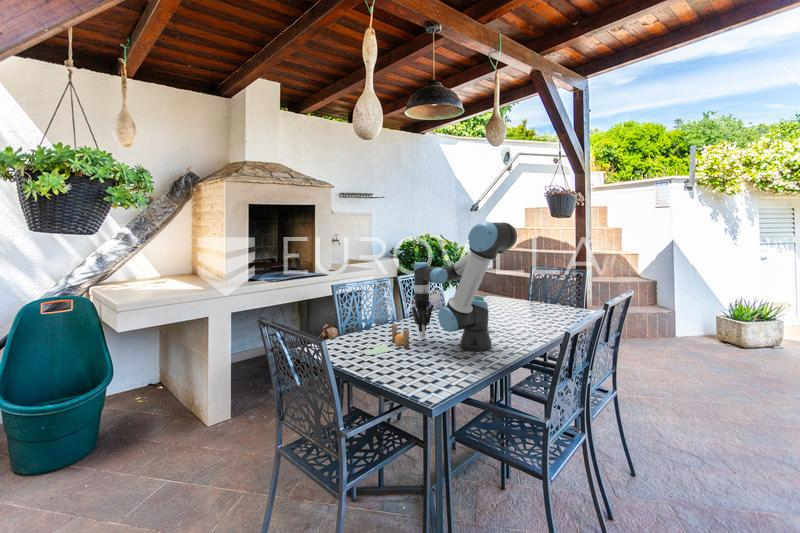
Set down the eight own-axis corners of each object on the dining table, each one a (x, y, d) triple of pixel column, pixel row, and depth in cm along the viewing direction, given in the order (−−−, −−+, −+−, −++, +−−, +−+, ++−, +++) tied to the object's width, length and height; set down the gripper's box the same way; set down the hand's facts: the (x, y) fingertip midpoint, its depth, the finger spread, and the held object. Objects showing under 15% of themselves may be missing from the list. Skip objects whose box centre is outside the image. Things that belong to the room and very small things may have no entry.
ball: (403, 348, 190) (409, 339, 191) (396, 341, 187) (403, 332, 189) (397, 345, 194) (403, 337, 196) (390, 339, 192) (397, 330, 194)
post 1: (398, 341, 197) (397, 324, 196) (393, 342, 196) (393, 325, 195) (395, 340, 199) (395, 323, 198) (391, 341, 198) (391, 324, 197)
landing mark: (394, 350, 182) (394, 350, 182) (367, 355, 176) (367, 355, 176) (381, 343, 195) (381, 343, 195) (356, 347, 188) (356, 347, 188)
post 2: (410, 348, 186) (409, 330, 185) (405, 349, 184) (405, 330, 184) (407, 346, 188) (407, 329, 187) (402, 347, 187) (402, 329, 186)
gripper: (428, 290, 202) (429, 333, 204) (407, 292, 196) (408, 337, 198) (436, 292, 195) (437, 337, 197) (414, 294, 189) (415, 341, 191)
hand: (422, 337), depth 198 cm, fingers closed
